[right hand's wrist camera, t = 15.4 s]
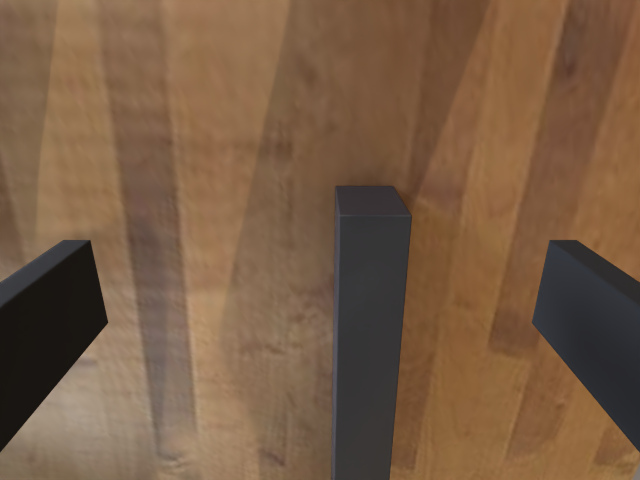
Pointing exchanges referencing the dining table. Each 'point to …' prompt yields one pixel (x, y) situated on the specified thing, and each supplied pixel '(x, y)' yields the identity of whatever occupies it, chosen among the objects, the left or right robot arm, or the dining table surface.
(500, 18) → the dining table surface
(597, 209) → the dining table surface
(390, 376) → the beam
